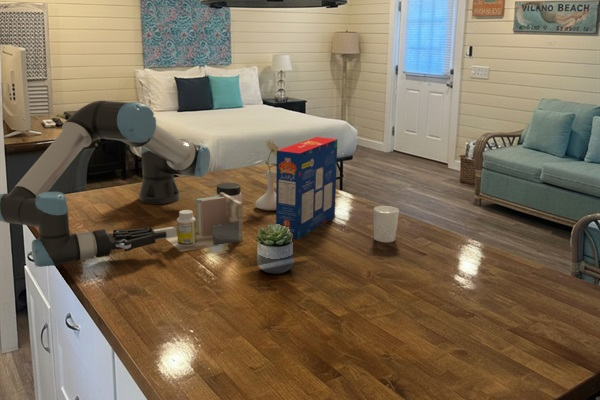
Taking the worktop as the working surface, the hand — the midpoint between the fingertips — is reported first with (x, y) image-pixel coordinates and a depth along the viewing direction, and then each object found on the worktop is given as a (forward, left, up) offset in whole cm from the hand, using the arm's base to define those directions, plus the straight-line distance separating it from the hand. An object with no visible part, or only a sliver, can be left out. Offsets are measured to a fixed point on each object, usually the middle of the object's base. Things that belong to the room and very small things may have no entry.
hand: (175, 231), depth 180 cm
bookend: (+4, +15, -5) cm, 16 cm away
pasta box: (-2, +47, -6) cm, 47 cm away
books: (-7, +15, -5) cm, 17 cm away
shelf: (-3, +10, -6) cm, 12 cm away
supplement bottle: (-1, +4, -5) cm, 6 cm away
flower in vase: (-26, +46, -6) cm, 53 cm away
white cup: (+21, +62, -6) cm, 66 cm away
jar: (-21, +27, -6) cm, 34 cm away
